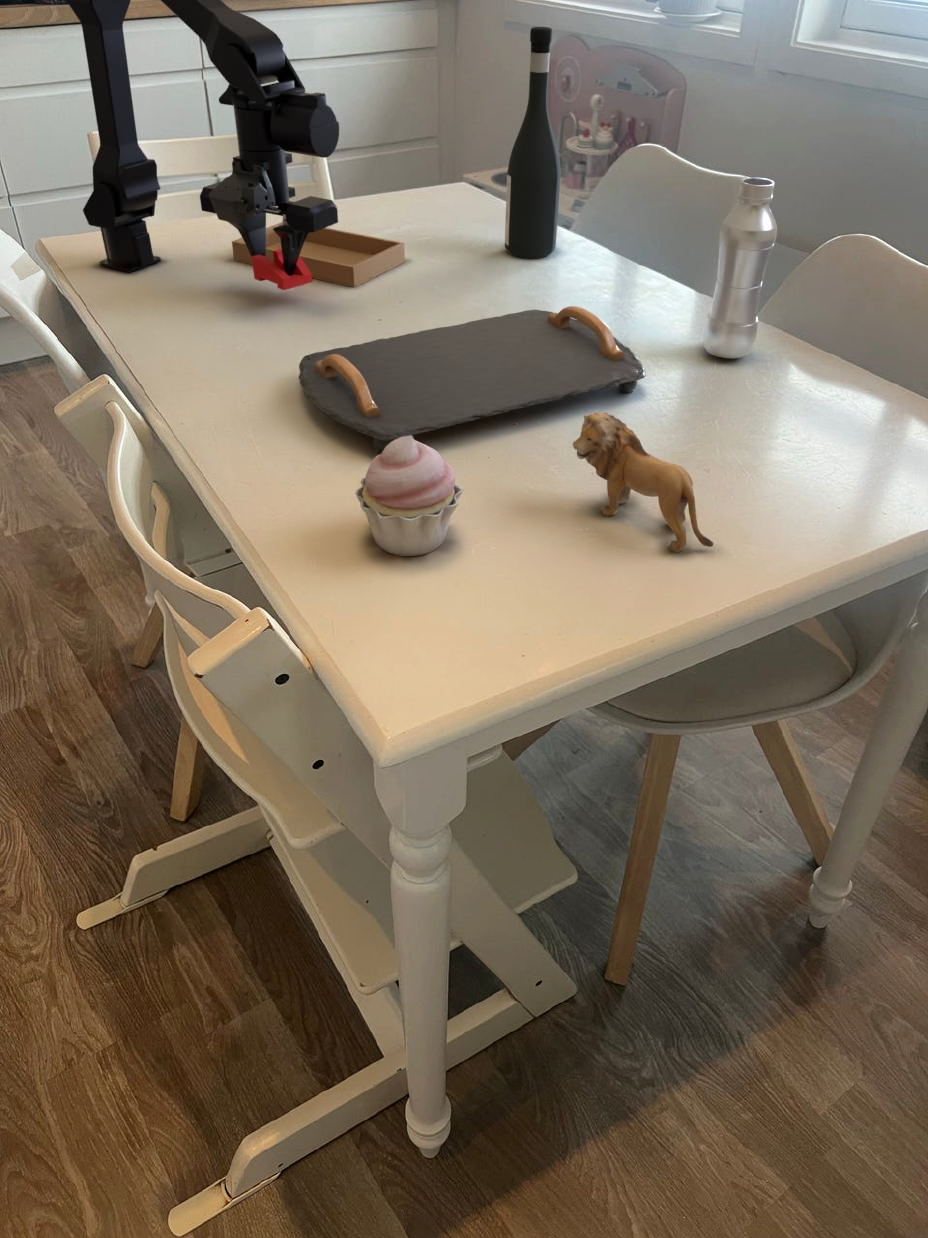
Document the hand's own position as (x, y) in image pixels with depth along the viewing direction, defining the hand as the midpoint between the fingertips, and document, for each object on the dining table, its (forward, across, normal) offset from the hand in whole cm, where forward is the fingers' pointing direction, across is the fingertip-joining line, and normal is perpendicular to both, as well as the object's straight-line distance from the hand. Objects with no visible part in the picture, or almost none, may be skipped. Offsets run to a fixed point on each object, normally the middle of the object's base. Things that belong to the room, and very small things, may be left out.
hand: (274, 272), depth 130 cm
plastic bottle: (+4, +59, +14) cm, 61 cm away
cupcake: (+4, +48, -41) cm, 63 cm away
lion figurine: (+4, +64, -28) cm, 70 cm away
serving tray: (+4, +37, -11) cm, 39 cm away
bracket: (+1, +1, 0) cm, 2 cm away
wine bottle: (+4, +20, +37) cm, 42 cm away
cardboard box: (+4, -5, +16) cm, 17 cm away
